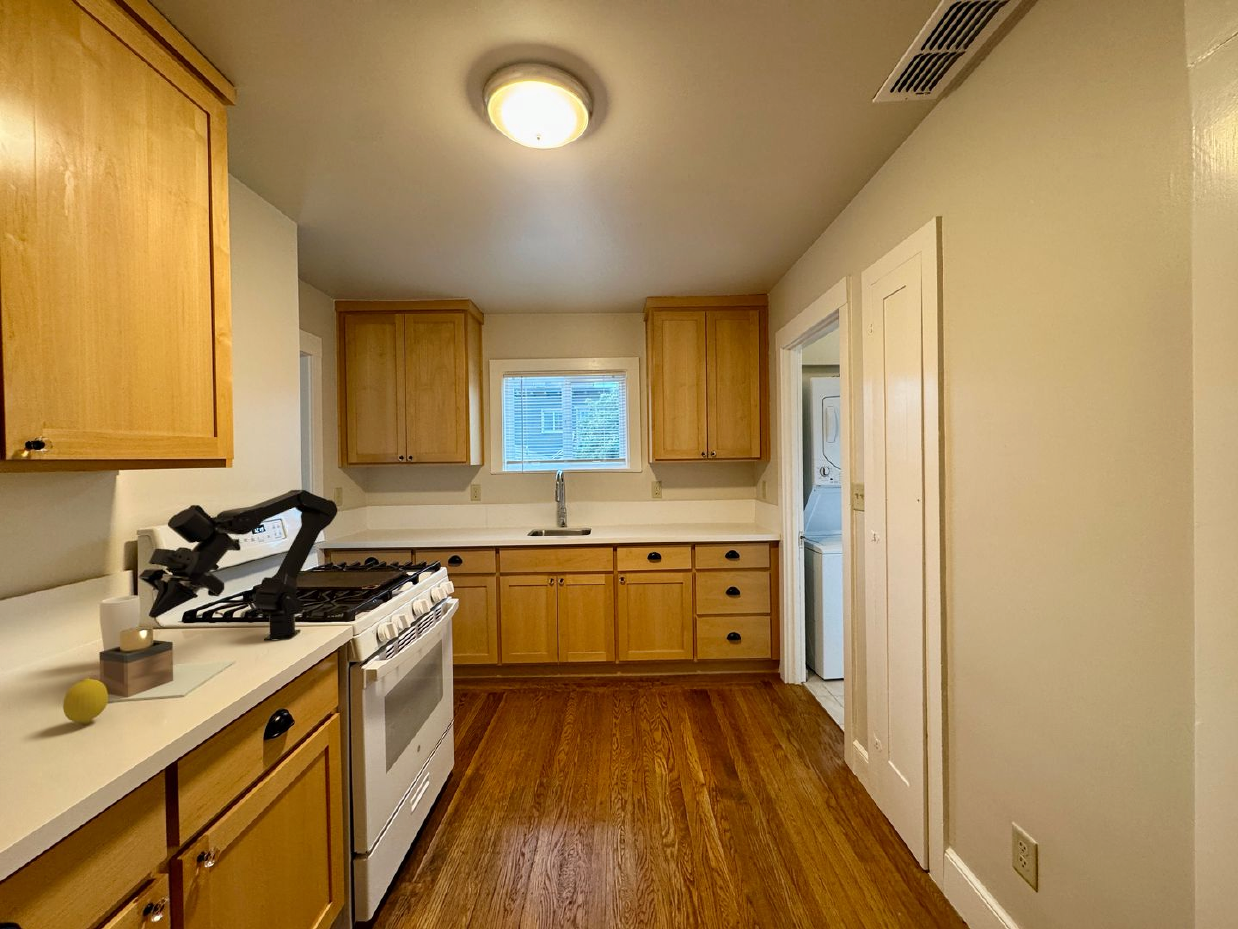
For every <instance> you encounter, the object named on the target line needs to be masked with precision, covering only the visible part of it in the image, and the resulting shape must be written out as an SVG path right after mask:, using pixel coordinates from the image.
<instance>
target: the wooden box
mask: <svg viewBox="0 0 1238 929" xmlns="http://www.w3.org/2000/svg"><path fill="white" fill-rule="evenodd" d="M173 647H174V643H173V642H172V641H165V640H157V639H153V647H150V648H146V649H143V650H140V651H136V652H133V653H124V652H120V646H119V647H116V648H112V649H109V650H105V651H104V650H102V651H99V654H98V655H99V681H100V682H102V683H103V684H104V685H105V687H106V689H107V693H108V694H110V695H117V696H123V697H131V696H133V695H136V694H139V693H141V692H144V691H147V690H150V689H152V688H155V687H158V686H160V685H163V684H166V683H169V682H171V681H173V665H174V655H173V654H174V650H173V649H174V648H173Z"/></svg>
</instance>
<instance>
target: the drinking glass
mask: <svg viewBox="0 0 1238 929" xmlns="http://www.w3.org/2000/svg"><path fill="white" fill-rule="evenodd" d="M140 621H141V598H140V596H139V595H135V594H134V595H122V596H121V595H120V596H115V597H109V598H105V599H103V600H101V601H100V602H99V623H100V631H101V632H100V633H101V638H102V646H103V651H105V650H109V649H112V648H116V647H119V646H120V632H121V631H123V630H126V629H130V628H135V627H140Z"/></svg>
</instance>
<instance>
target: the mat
mask: <svg viewBox="0 0 1238 929" xmlns="http://www.w3.org/2000/svg"><path fill="white" fill-rule="evenodd" d="M234 662H235V663H236V660H227V661H226V660H225V661H222V660H221V661H210V662H196V663H195V662H192V663H191V662H190V663H178V664H173V681H171V682H169V683H166V684H163V685H160V686H158V687H155V688H152V689H150V690H147V691H144V692H141V693H139V694H136V695H133V696H131V697H123V696H117V695H110V694H108V701H107V703H116V702H129V701H142V700H143V701H144V699H146V700H157V699H158V700H159V699H170V698H171V699H172V698H182V697H183V698H184V697H185V696H187V695H188V694H190V693H192V692H193V691H195V690H196V689H197V687H198V688H199V687H201V686H202V685H204V684H205V683H206V681H207V682H208V681H210V680H211V679H213V678H214V677H216V676H217V675H219V674H220V673H222V672H223V671H225V670H226V669H228V668H230V667H231V666H232V665H234V664H235V663H234ZM233 663H234V664H233ZM231 664H232V665H231ZM230 665H231V666H230ZM227 667H228V668H227ZM224 669H225V670H224ZM221 671H222V672H221ZM215 675H216V676H215Z"/></svg>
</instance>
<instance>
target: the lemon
mask: <svg viewBox="0 0 1238 929" xmlns="http://www.w3.org/2000/svg"><path fill="white" fill-rule="evenodd" d="M107 701H108V693H107V689H106V687H105V685H104V684H103V683H102V682H100V680H97V679H90V678H89V677H87V678H83V679H82V680H81V681H79V682H77V683H75V684H73V686H71V687H70V688H69V689H68V691H67V692H66V694H65V696H64V699H63V704H62V706H63V707H62V708H63V714H64V715H65V717H66V718H67V719H68V720H69V721H72V722H73V723H81V724H82V725H88V724H89V723H91V721H92V720H93V719H95V718H97V717H98V716H100V715H101V714H102V712H103V711H104V710H105V708H106V707H107V704H108V702H107Z"/></svg>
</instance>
